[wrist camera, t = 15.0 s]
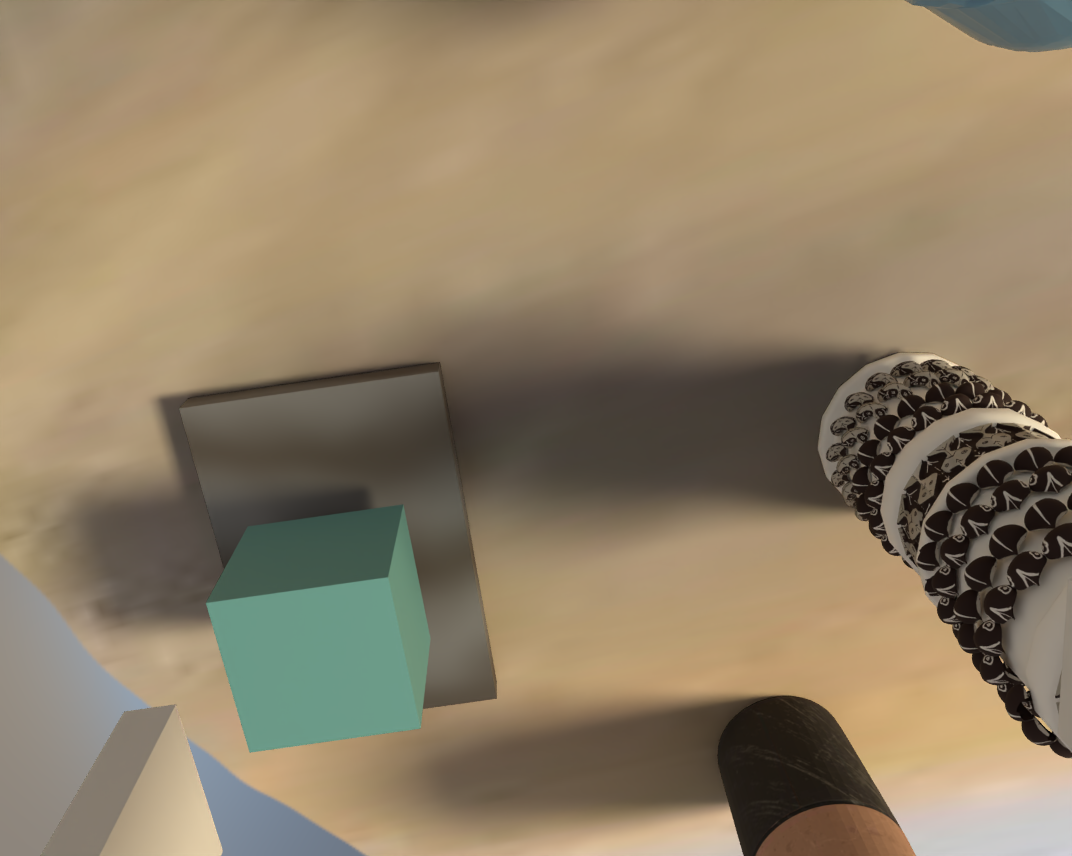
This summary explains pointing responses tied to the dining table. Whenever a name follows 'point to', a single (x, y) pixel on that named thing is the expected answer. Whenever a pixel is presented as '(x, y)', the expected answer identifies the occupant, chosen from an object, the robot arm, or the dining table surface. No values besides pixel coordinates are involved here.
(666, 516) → the dining table surface
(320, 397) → the grey base with post
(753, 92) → the dining table surface
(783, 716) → the travel mug
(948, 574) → the decorative candle
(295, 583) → the mint green cube
